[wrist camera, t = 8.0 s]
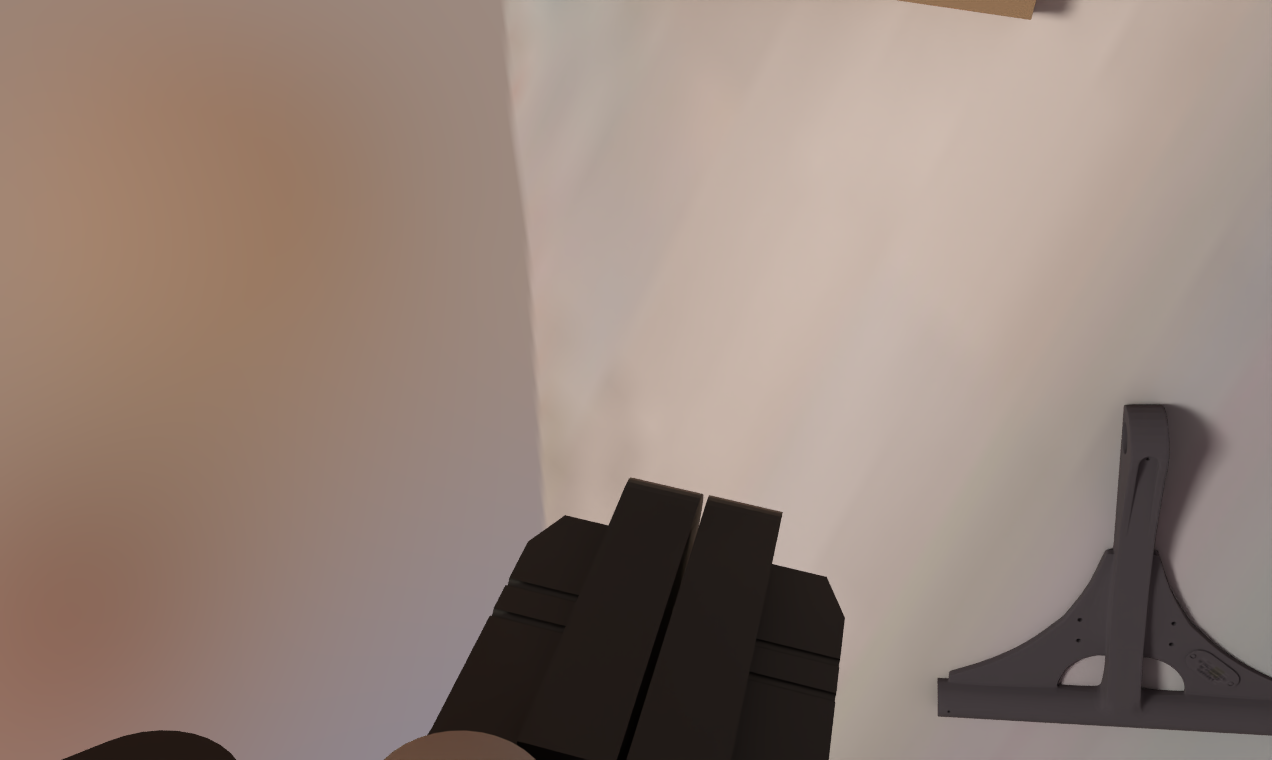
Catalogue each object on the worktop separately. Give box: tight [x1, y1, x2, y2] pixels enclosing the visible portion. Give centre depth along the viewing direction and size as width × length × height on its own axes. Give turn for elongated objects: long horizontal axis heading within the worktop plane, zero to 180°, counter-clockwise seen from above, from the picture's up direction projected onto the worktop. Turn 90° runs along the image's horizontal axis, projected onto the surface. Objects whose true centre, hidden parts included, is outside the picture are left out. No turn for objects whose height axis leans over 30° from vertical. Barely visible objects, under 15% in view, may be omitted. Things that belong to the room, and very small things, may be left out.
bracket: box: [938, 405, 1272, 735], centre depth 46 cm, size 14×15×3 cm
